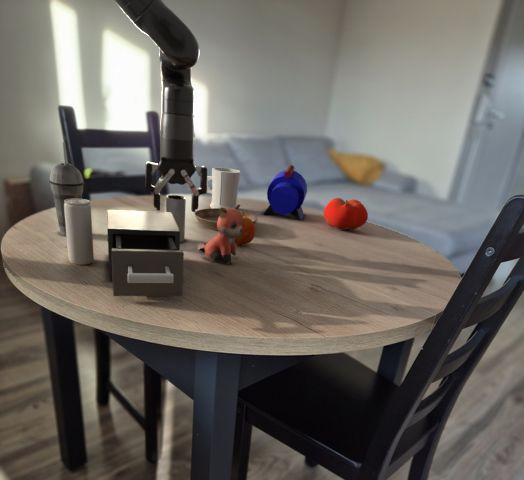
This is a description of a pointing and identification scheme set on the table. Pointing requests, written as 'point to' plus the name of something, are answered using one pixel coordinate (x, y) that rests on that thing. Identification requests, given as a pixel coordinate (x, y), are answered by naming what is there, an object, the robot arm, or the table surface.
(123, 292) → the drawer
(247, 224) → the fruit
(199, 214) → the plant saucer
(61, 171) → the beverage cup
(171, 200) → the grey hollow cylinder
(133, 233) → the cabinet
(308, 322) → the table surface
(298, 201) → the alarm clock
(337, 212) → the tomato
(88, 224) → the beverage can
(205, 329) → the table surface
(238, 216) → the stuffed fox
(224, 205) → the cup
